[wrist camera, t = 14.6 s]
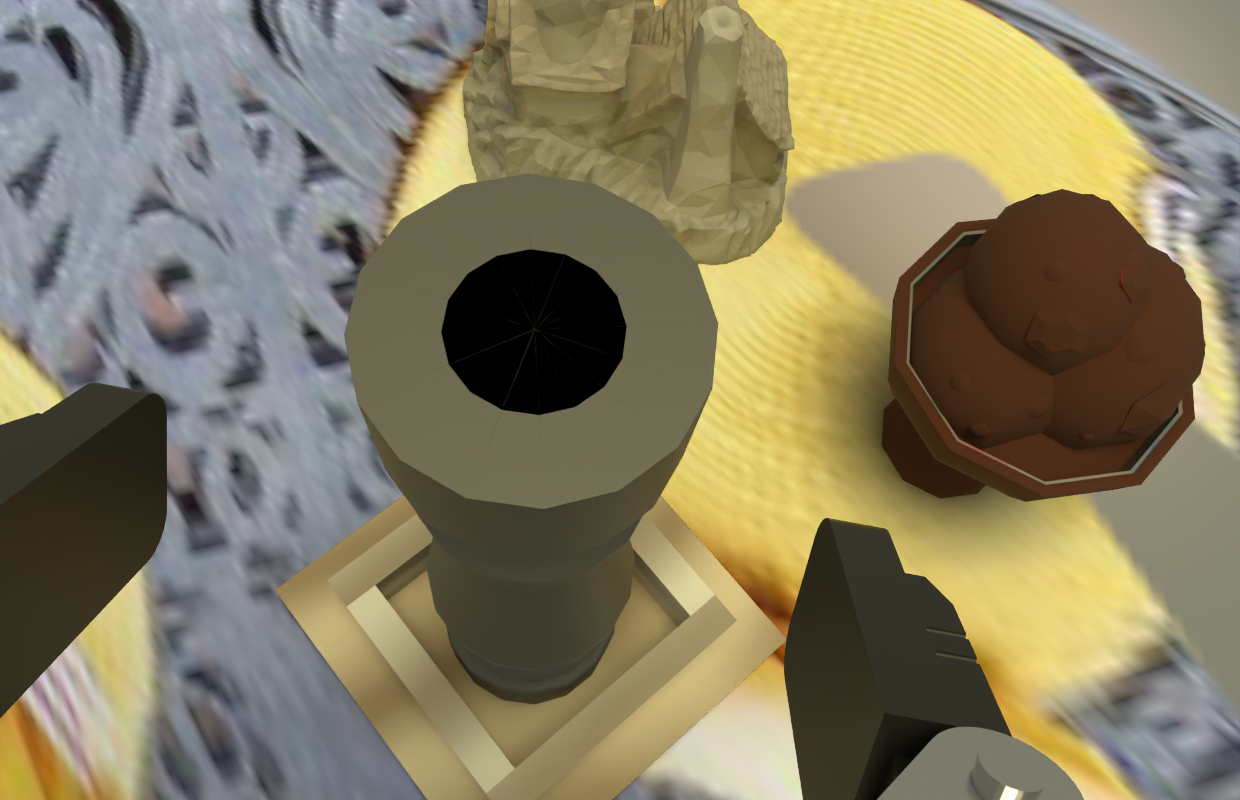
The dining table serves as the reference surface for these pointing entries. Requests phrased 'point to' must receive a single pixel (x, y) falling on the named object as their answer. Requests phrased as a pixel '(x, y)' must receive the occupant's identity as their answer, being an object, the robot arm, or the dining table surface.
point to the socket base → (520, 732)
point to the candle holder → (531, 409)
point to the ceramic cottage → (640, 111)
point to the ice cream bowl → (1040, 354)
